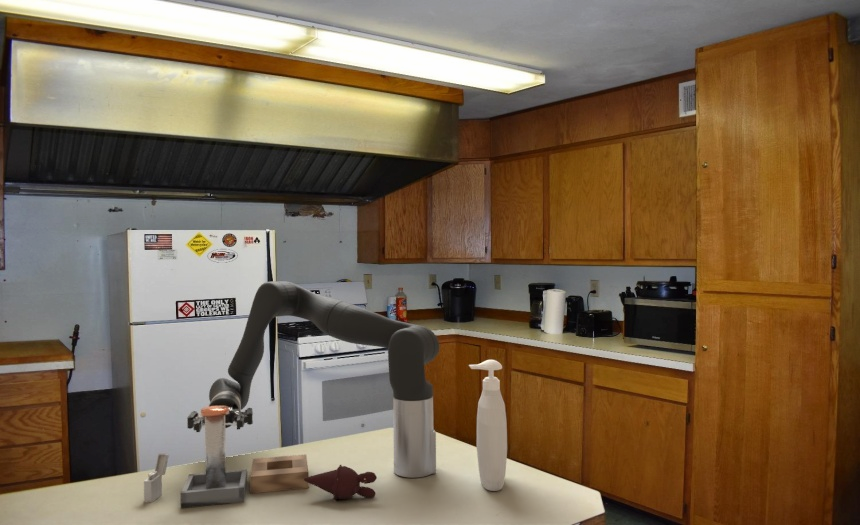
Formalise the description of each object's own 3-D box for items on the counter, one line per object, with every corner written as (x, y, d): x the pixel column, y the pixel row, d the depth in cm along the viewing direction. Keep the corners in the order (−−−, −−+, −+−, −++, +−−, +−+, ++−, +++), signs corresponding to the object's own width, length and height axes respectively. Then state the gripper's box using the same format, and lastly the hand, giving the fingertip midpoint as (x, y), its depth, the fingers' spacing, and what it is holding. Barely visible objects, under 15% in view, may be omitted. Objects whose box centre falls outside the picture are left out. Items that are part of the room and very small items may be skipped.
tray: (247, 482, 133) (247, 469, 133) (244, 502, 123) (244, 487, 123) (189, 488, 131) (189, 474, 131) (180, 508, 120) (180, 493, 120)
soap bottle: (468, 472, 139) (467, 354, 139) (503, 472, 139) (502, 354, 139) (472, 497, 124) (470, 365, 124) (511, 496, 124) (510, 365, 124)
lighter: (151, 502, 123) (151, 463, 123) (143, 502, 123) (143, 462, 123) (169, 489, 130) (168, 452, 130) (161, 489, 130) (161, 451, 130)
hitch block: (306, 469, 142) (306, 454, 142) (308, 487, 130) (308, 471, 130) (253, 473, 139) (252, 458, 139) (250, 493, 127) (250, 476, 127)
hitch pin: (231, 483, 130) (230, 404, 130) (228, 493, 125) (227, 411, 125) (203, 486, 129) (202, 406, 129) (199, 496, 123) (199, 412, 123)
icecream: (299, 474, 120) (374, 482, 119) (308, 453, 127) (379, 460, 127) (298, 504, 122) (372, 512, 121) (308, 482, 129) (378, 489, 128)
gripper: (193, 395, 149) (184, 411, 133) (254, 392, 152) (251, 407, 136) (194, 425, 149) (184, 445, 133) (254, 421, 152) (251, 440, 136)
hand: (218, 426), depth 135 cm, fingers open, 8 cm apart
